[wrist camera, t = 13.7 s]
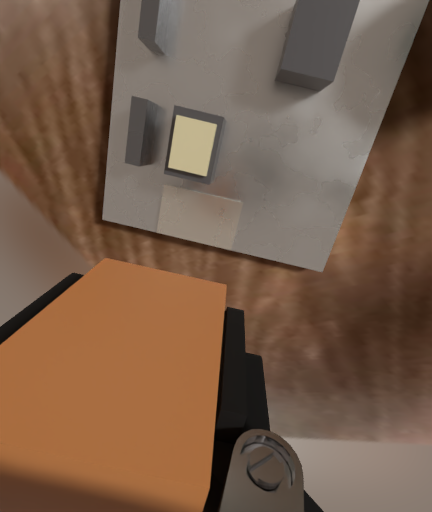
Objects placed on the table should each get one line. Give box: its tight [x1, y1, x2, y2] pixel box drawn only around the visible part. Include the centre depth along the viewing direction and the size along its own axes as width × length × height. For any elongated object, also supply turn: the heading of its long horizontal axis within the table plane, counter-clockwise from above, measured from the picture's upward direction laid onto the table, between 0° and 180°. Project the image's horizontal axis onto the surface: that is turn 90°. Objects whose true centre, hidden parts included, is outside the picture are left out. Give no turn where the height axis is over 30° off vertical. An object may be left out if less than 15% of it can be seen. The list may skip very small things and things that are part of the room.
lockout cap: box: [0, 258, 227, 512], centre depth 7 cm, size 4×4×6 cm
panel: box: [102, 0, 429, 272], centre depth 19 cm, size 18×20×4 cm
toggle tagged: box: [164, 105, 226, 185], centre depth 19 cm, size 3×4×3 cm
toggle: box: [275, 0, 360, 91], centre depth 17 cm, size 3×4×3 cm
